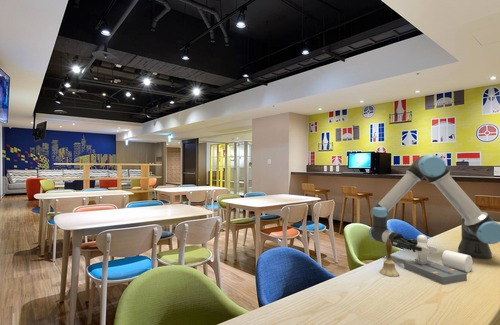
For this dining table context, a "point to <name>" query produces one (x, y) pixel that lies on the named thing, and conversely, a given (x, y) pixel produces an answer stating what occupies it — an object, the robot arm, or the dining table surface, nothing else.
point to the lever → (422, 257)
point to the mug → (457, 261)
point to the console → (436, 272)
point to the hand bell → (389, 262)
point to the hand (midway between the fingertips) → (432, 250)
